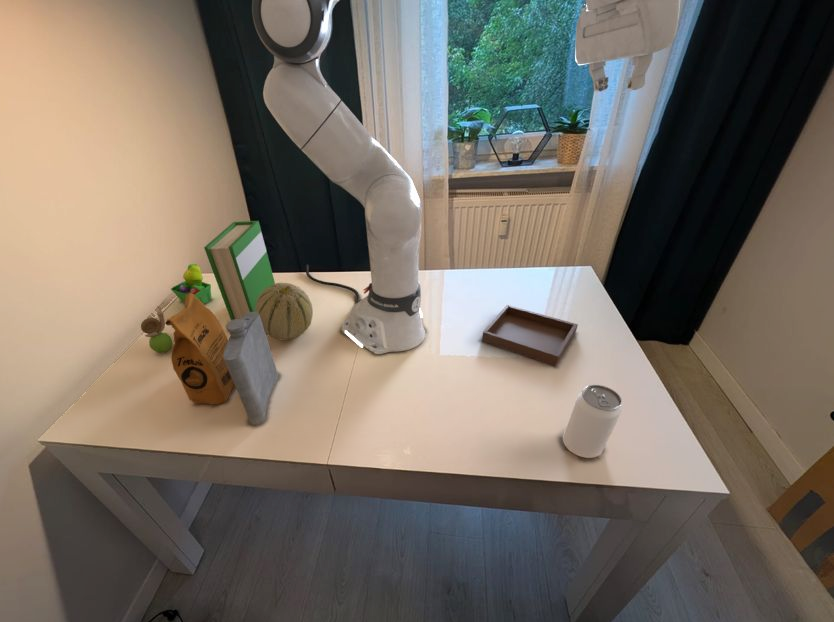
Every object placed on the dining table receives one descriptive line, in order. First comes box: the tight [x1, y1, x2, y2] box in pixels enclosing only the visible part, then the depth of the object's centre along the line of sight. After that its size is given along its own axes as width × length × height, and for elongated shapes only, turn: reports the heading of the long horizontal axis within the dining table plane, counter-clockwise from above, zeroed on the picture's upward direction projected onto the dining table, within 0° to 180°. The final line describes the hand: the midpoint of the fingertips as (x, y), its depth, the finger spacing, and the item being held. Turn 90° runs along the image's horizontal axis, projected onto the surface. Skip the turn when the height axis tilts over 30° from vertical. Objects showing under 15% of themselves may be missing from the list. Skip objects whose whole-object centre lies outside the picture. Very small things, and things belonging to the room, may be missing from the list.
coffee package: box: [165, 293, 236, 405], centre depth 81 cm, size 10×12×22 cm
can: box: [562, 384, 623, 459], centre depth 64 cm, size 6×6×12 cm
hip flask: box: [223, 312, 280, 426], centre depth 78 cm, size 16×4×20 cm, turn 178°
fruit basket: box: [170, 263, 212, 305], centre depth 119 cm, size 11×9×11 cm
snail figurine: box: [140, 305, 174, 354], centre depth 98 cm, size 5×6×12 cm
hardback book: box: [203, 220, 276, 321], centre depth 106 cm, size 18×7×24 cm, turn 172°
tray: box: [481, 304, 579, 367], centre depth 92 cm, size 18×15×3 cm
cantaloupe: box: [255, 282, 314, 341], centre depth 98 cm, size 15×15×15 cm
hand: (617, 89), depth 64 cm, fingers open, 8 cm apart
